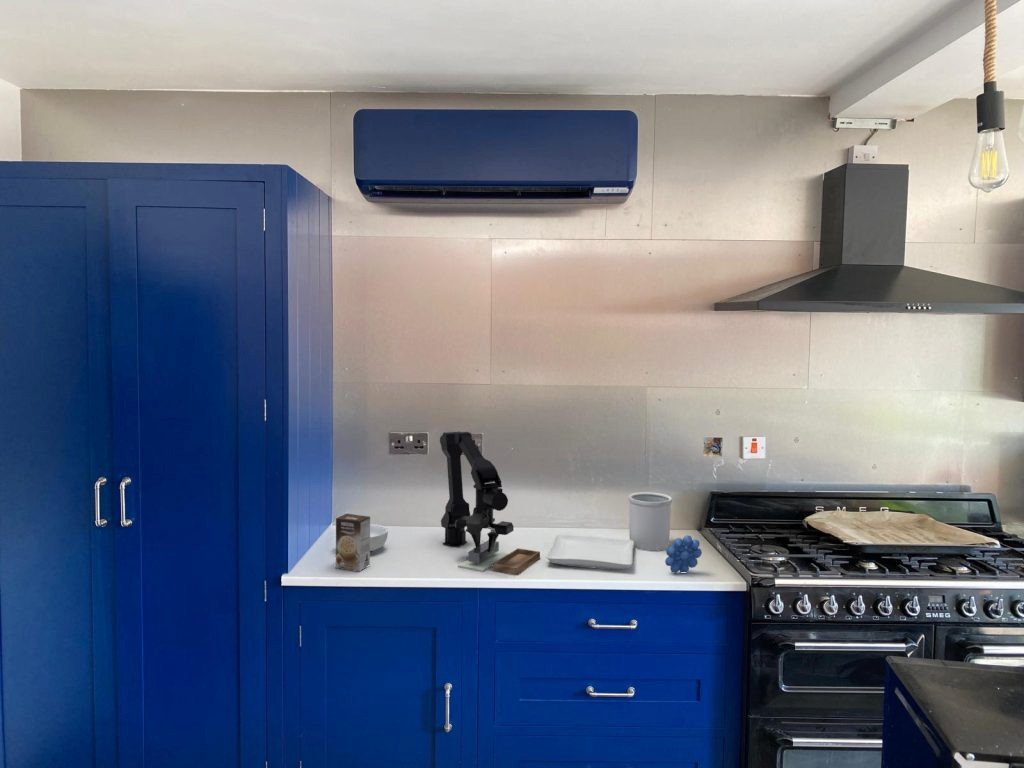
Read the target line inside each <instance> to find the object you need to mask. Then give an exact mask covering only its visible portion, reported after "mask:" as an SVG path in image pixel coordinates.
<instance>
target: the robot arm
mask: <svg viewBox="0 0 1024 768" xmlns="http://www.w3.org/2000/svg"><path fill="white" fill-rule="evenodd" d="M439 444H440V447H441V451H442V454H444V456H445V457H446V466H447V478H448V479H447V482H448V494H449V496H448V498H449V499H448V500H447V503H446V505H445V509H444V510H445V511H444V512H445V513H444V514H443V516H442V517H441V520H440V525H441V527H442V528H444V541H443V542H442V545H444V546H451V547H456V548H457V547H459V548H460V546H463V545H465V544H466V543H468V541H467V539H466V537H467V534H466V533H469V534H470V535H471V538H472V540H473V542H474V546H475V548H476V547H477V546H479V545H481V537H482V530H483V529H487V530H489V529H490V531H489V532H487V536H488V540H489V544H488V549H489V552H491V551H492V548H493V546H494V544H495V541H497V539H498V537H499V535H502V536H507V535H509V534H511V533H512V532H514V524H513V523H512V522H509V521H503V520H502V521H500V522H498V523H494V522H496V520H495V519H496V518H495V517H494V510H495V511H497V512H499V511H504V510H505V509H506V508H507V507H508V503H509V499H508V496H507V494H506V493H504V492H503V488H502V487H503V486H502V480H501V478H500V476H499V475H500V474H499V473H498V470H497V468H496V467H495V465H494V464H493V463H492V462H491V461H490V460H488V459H486V458H484V456H483V454H482V453H481V451H480V449H479V448H478V445H477V444H476V443H475V441H474V440H473V437H472V433H471V432H470V431H449V432H443V433H442V435H441V436H440V437H439ZM462 454H463V455H464V457H465V458H466V460H467V461H468V463H469V465H470V467H471V470H470V474H471V478H472V480H473V483H474V485H473V488H474V489H475V507H473V510H472V515H471V511H470V503H469V502H467V501H466V500H465V499H464V491H463V490H464V489H463V487H464V486H463V472H462V458H461V457H462Z"/></svg>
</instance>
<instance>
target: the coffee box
mask: <svg viewBox="0 0 1024 768" xmlns="http://www.w3.org/2000/svg"><path fill="white" fill-rule="evenodd" d="M370 524H371V516H368V515H361V514H352V513H345V514H343V515H341V516H339V517H336V518H335V569H339V568H341V569H340V570H345V569H346V570H345V571H351V570H356V571H355V572H358V571H360V572H362V571H363V570H362V569H364V568H365V567H367V566H368V565H371V552H370ZM367 568H368V567H367ZM365 569H366V568H365ZM365 569H364V570H365ZM361 570H362V571H361Z"/></svg>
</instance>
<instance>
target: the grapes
mask: <svg viewBox="0 0 1024 768" xmlns="http://www.w3.org/2000/svg"><path fill="white" fill-rule="evenodd" d="M700 544H701V543H700V540H699V539H693V537H692V536H691V535H685V536H684V537H683V538H678V537H677V538H675V539H674V540H673V542H672V545H673V546H671V545H669V547H668V548H667V549H665V550H666V556H667V557H666V558H665V560H664V564H665V565H666V566H667V567H670V572H671V573H672V572H676V573H678V572H680V573H681V572H687V571H688V572H689V570H690V568H695V567H697V565H698V563H699V562H698V561H699V560H698V559H699V558H700V557H701V556H702V549H701V548H699V547H700ZM688 572H687V573H688Z"/></svg>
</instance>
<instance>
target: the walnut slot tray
mask: <svg viewBox="0 0 1024 768" xmlns="http://www.w3.org/2000/svg"><path fill="white" fill-rule="evenodd" d="M539 559H541V551H538V550H537V551H536V550H533V549H532V550H530V549H525V548H515V549H514V550H513V551H511V552H509V553H508V555H506V556H505V557H503V558H502V559H500V560H499V561H497V562H496V563H494V564H493V566H492V572H495V573H501V574H502V573H503V574H508V575H512V576H513V575H514V576H518V575H519V574H521V573H522V572H524V571H525V570H526V569H528V568H529V567H530V566H532V565H533V564H534V563H536V562H537V561H538V560H539Z"/></svg>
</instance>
